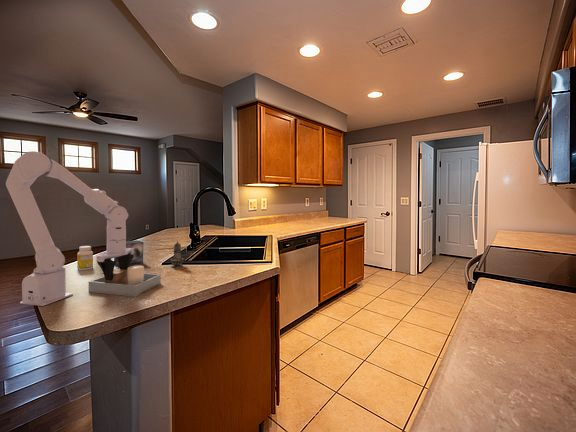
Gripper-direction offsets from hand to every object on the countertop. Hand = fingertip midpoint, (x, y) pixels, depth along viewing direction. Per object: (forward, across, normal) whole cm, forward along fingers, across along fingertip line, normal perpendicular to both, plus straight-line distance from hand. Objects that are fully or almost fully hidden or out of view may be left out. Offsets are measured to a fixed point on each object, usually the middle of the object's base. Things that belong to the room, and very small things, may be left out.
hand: (116, 277), depth 94 cm
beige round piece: (+3, 0, -8) cm, 8 cm away
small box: (+4, +28, +18) cm, 33 cm away
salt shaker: (+4, +30, -6) cm, 31 cm away
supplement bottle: (+4, +16, +28) cm, 33 cm away
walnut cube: (+3, 0, 0) cm, 3 cm away
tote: (+3, 0, -4) cm, 5 cm away
